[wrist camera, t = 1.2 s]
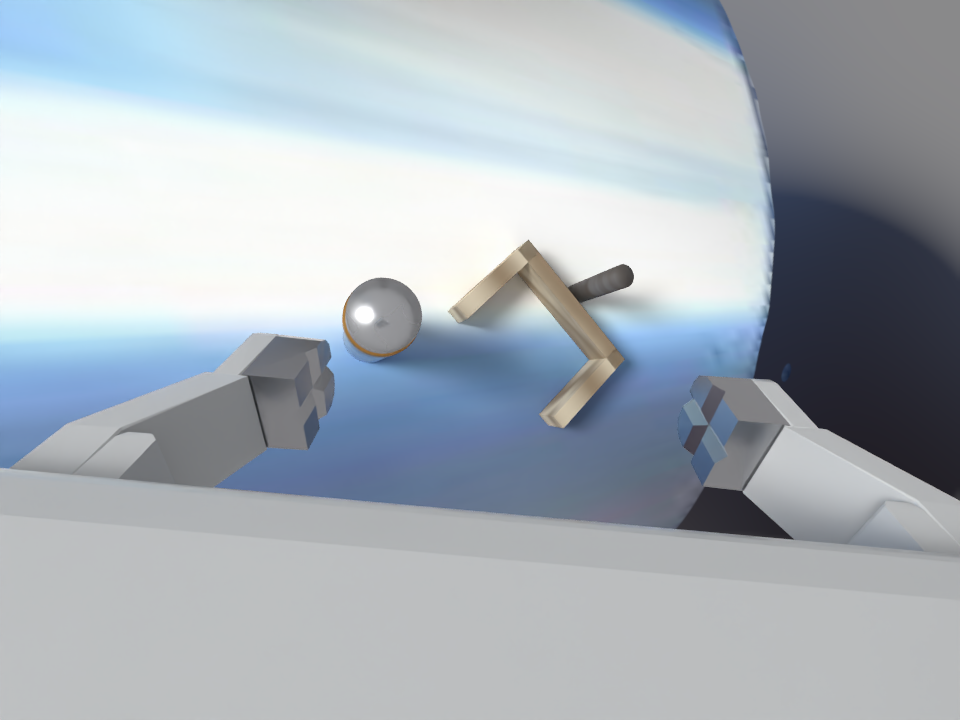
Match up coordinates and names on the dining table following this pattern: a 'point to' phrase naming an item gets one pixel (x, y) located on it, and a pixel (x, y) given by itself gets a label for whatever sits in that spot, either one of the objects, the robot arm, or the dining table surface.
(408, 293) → the silver metal cylinder
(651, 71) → the dining table surface
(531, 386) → the dining table surface
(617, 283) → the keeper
